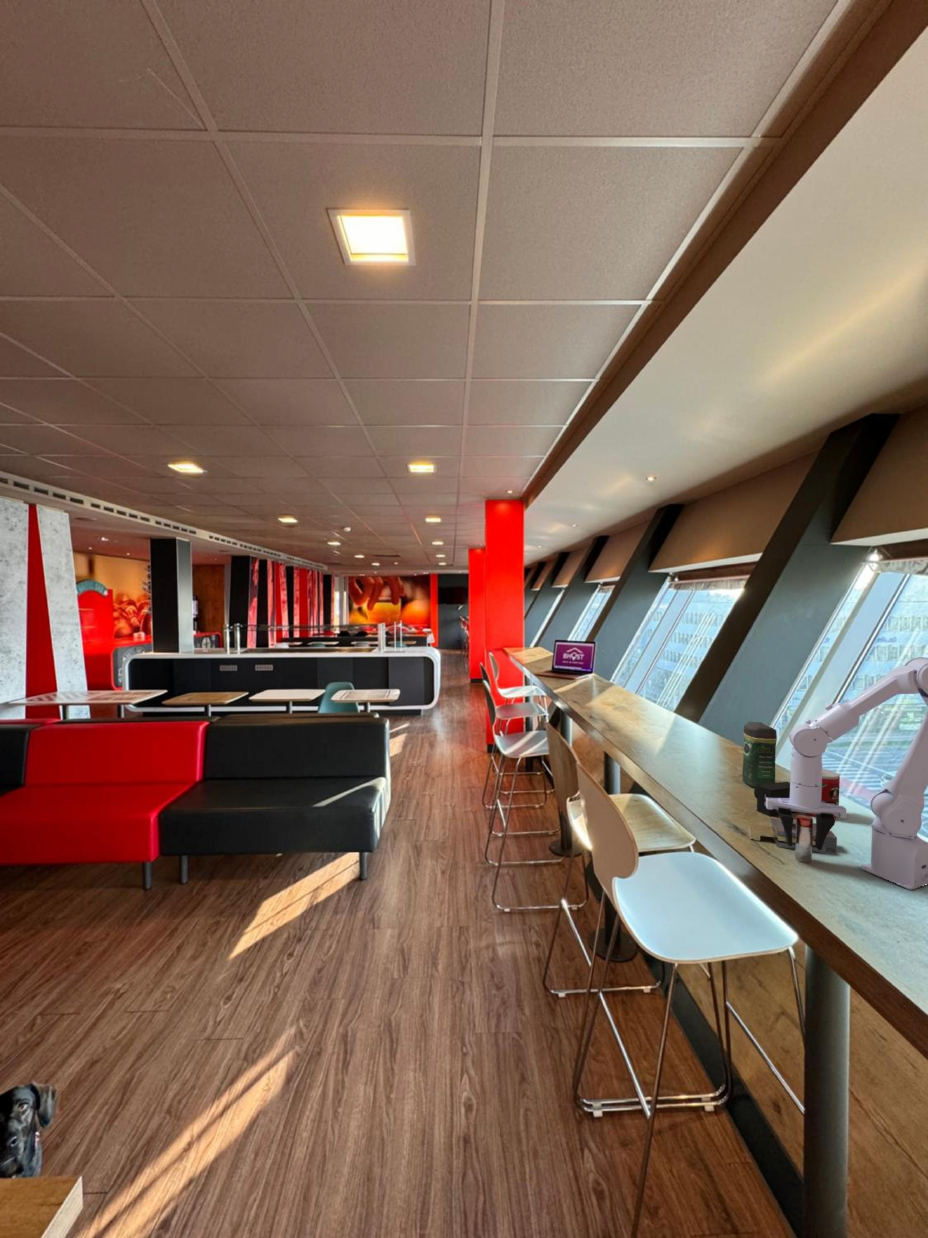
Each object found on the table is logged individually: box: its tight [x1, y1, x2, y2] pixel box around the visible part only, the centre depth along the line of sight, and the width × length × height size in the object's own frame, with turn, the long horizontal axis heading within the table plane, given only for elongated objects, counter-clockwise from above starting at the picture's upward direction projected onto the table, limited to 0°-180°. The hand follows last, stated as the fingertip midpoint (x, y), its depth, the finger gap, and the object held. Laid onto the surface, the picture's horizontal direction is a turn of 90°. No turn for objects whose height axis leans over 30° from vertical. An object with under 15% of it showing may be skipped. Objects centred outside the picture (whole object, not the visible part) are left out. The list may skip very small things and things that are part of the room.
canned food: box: [806, 768, 841, 820], centre depth 146 cm, size 8×8×11 cm
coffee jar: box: [741, 721, 778, 788], centre depth 169 cm, size 10×8×19 cm
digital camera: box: [753, 781, 799, 818], centre depth 148 cm, size 10×5×7 cm, turn 110°
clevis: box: [747, 817, 838, 854], centre depth 128 cm, size 17×8×4 cm, turn 71°
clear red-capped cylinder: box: [794, 814, 814, 864], centre depth 119 cm, size 3×3×9 cm
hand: (803, 846), depth 120 cm, fingers open, 5 cm apart
